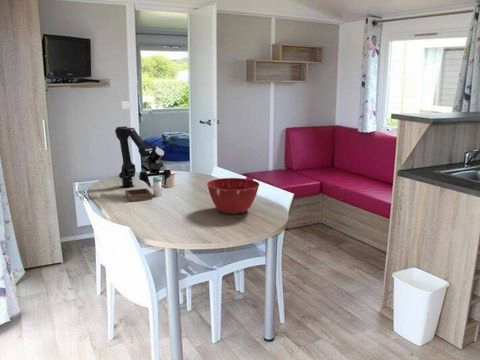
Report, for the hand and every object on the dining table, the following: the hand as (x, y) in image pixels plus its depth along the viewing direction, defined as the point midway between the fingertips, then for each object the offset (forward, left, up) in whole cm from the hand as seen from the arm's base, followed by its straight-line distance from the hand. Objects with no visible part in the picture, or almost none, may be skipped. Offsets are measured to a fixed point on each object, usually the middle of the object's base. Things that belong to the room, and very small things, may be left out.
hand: (157, 186), depth 262 cm
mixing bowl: (+51, +6, -7) cm, 52 cm away
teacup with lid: (-16, +24, -7) cm, 29 cm away
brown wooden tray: (-7, -9, -7) cm, 14 cm away
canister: (-1, +1, -7) cm, 7 cm away
